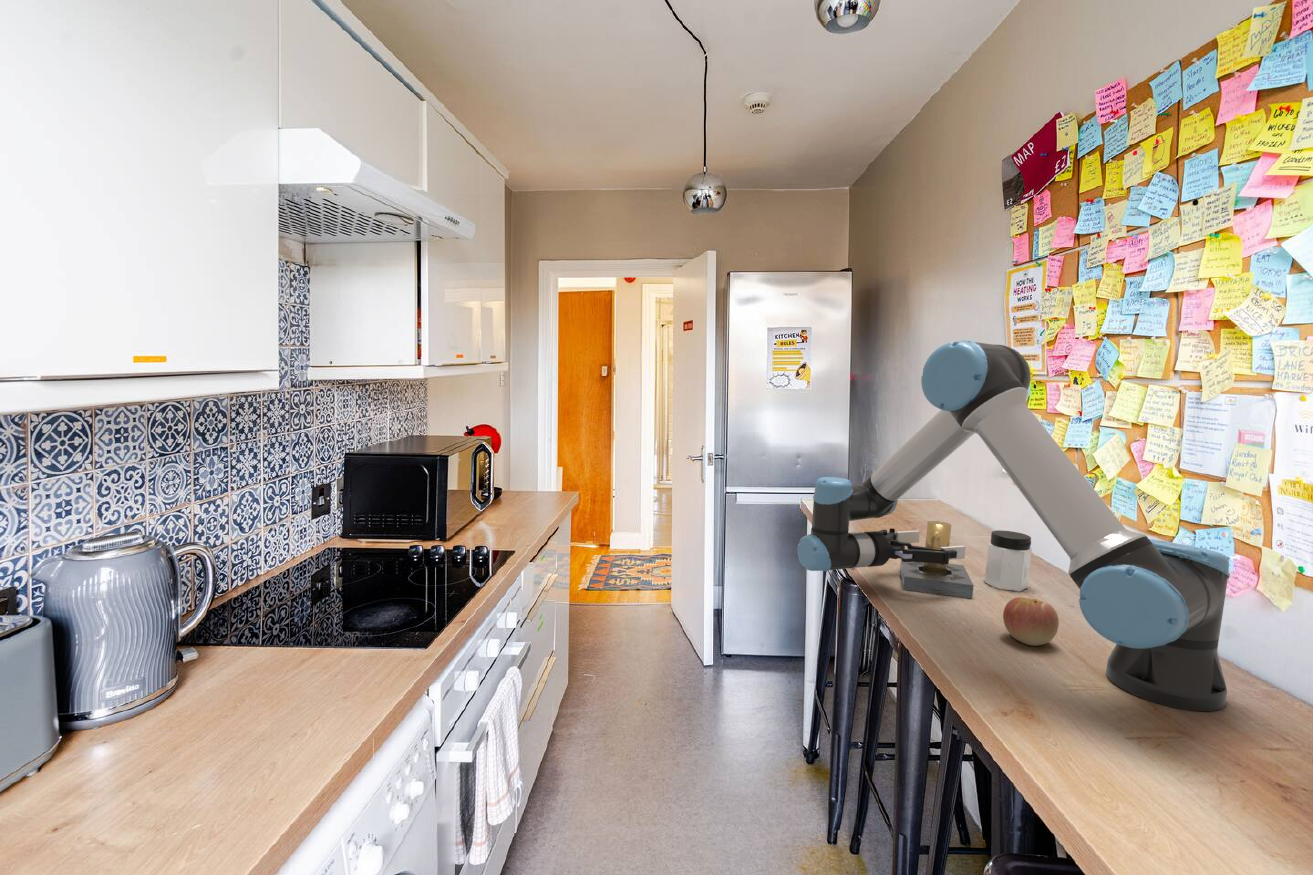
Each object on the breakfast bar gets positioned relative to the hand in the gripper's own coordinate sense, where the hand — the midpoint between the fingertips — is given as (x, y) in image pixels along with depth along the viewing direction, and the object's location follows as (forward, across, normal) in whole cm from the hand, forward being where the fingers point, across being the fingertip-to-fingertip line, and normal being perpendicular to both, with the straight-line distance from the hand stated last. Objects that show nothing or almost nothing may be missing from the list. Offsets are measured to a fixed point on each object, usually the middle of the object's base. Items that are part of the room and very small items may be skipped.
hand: (940, 543), depth 155 cm
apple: (-10, +32, -9) cm, 34 cm away
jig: (-1, 0, -9) cm, 9 cm away
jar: (+15, +6, -9) cm, 19 cm away
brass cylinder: (-1, 0, -9) cm, 9 cm away
